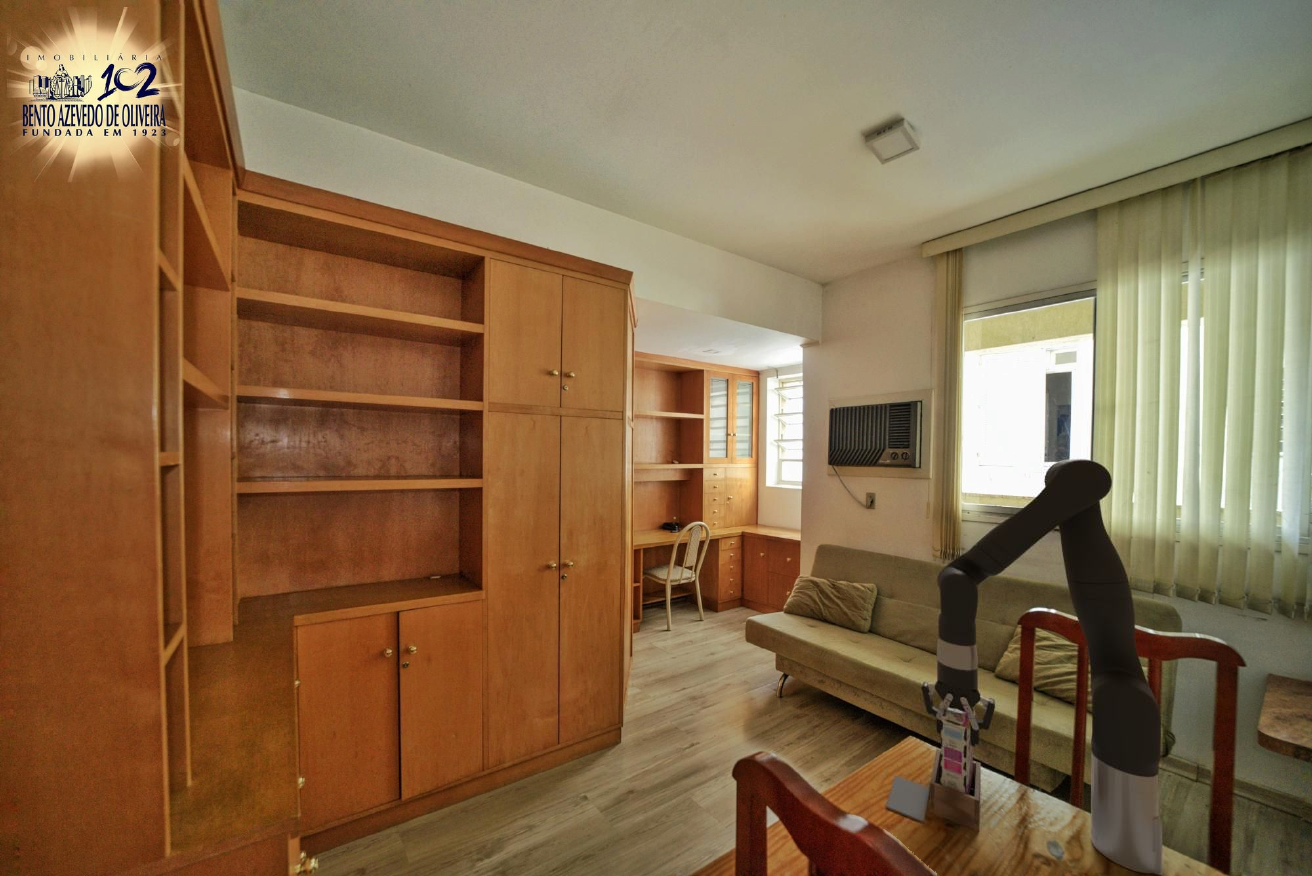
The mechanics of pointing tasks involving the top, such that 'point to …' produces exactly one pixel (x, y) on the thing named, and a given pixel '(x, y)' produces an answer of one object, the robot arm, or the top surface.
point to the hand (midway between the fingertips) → (957, 739)
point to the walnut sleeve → (955, 797)
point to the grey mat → (908, 798)
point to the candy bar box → (956, 751)
